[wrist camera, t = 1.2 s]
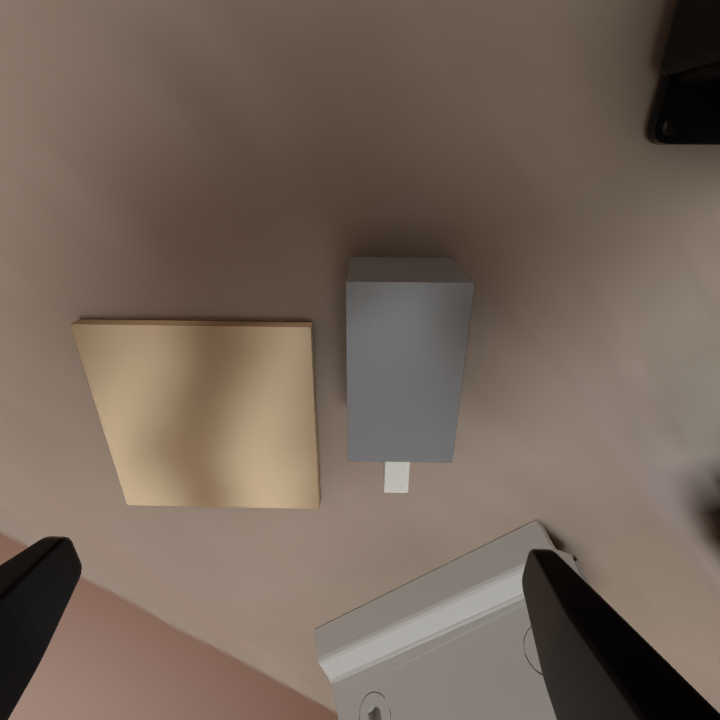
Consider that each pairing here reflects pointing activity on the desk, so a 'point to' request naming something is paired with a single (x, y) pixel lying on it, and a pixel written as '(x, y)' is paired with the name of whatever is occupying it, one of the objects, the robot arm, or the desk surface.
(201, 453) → the coaster
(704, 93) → the robot arm
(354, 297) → the plug
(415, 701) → the hinge
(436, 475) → the desk surface
